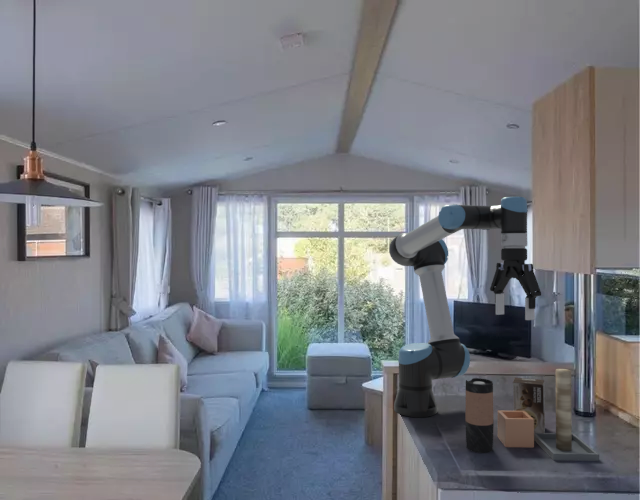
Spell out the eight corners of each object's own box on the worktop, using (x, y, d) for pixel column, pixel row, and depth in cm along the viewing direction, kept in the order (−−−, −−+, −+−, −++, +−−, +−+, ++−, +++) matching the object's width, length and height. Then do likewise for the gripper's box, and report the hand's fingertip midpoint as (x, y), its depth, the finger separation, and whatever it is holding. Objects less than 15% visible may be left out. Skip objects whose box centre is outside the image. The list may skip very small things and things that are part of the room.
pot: (497, 440, 160) (497, 410, 160) (524, 440, 160) (524, 410, 160) (505, 450, 152) (505, 419, 152) (534, 450, 152) (533, 419, 152)
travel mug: (495, 457, 147) (494, 385, 147) (466, 455, 148) (466, 384, 148) (491, 447, 154) (491, 378, 154) (464, 445, 156) (464, 377, 156)
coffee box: (545, 430, 168) (545, 379, 168) (544, 437, 163) (544, 384, 163) (514, 426, 172) (514, 376, 172) (512, 432, 166) (512, 381, 166)
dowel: (553, 445, 152) (553, 368, 152) (568, 445, 152) (567, 368, 152) (559, 450, 148) (558, 372, 148) (574, 451, 148) (573, 372, 148)
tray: (532, 441, 159) (532, 432, 159) (573, 442, 158) (573, 433, 158) (553, 463, 143) (553, 453, 143) (599, 464, 142) (599, 454, 142)
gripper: (478, 247, 173) (479, 312, 173) (532, 247, 149) (533, 323, 150) (498, 247, 176) (498, 311, 176) (554, 247, 152) (554, 321, 152)
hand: (514, 317), depth 163 cm, fingers open, 13 cm apart
